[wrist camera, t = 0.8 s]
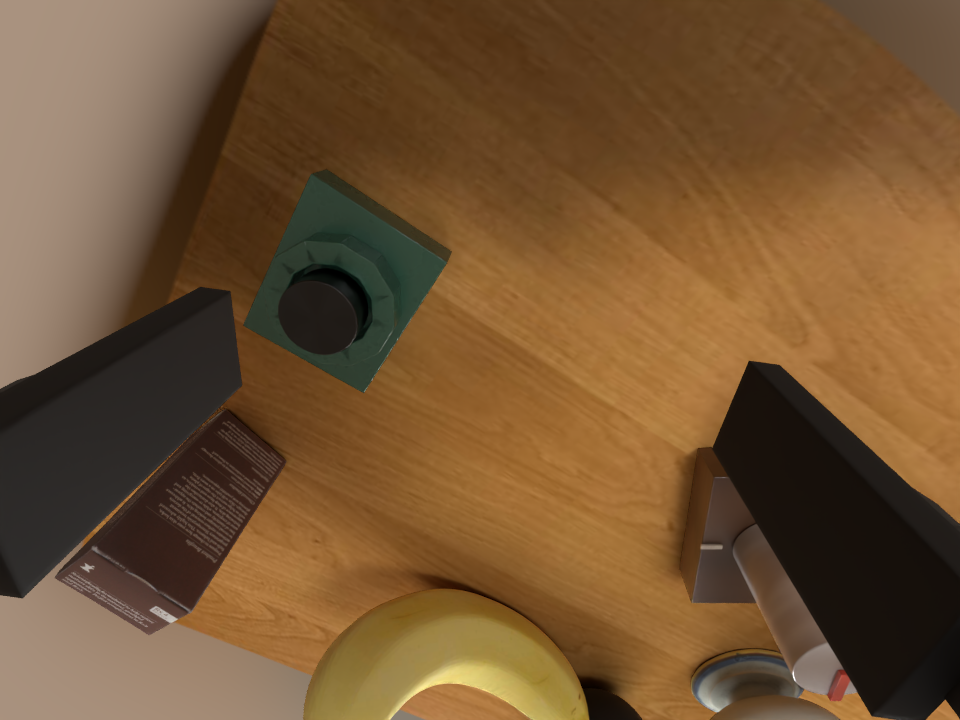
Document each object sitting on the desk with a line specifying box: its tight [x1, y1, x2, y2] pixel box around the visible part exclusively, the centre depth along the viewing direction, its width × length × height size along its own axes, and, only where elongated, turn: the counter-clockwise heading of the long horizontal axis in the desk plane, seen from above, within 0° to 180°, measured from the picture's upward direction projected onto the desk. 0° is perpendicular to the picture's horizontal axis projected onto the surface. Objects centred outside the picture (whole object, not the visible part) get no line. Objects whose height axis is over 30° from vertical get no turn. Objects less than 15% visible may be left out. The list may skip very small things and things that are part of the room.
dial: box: [733, 524, 857, 701], centre depth 28 cm, size 5×5×8 cm
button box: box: [243, 170, 452, 393], centre depth 27 cm, size 10×8×4 cm
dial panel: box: [680, 448, 757, 603], centre depth 33 cm, size 12×9×3 cm
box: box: [55, 409, 286, 635], centre depth 30 cm, size 6×4×12 cm
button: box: [278, 268, 368, 355], centre depth 25 cm, size 4×4×2 cm
